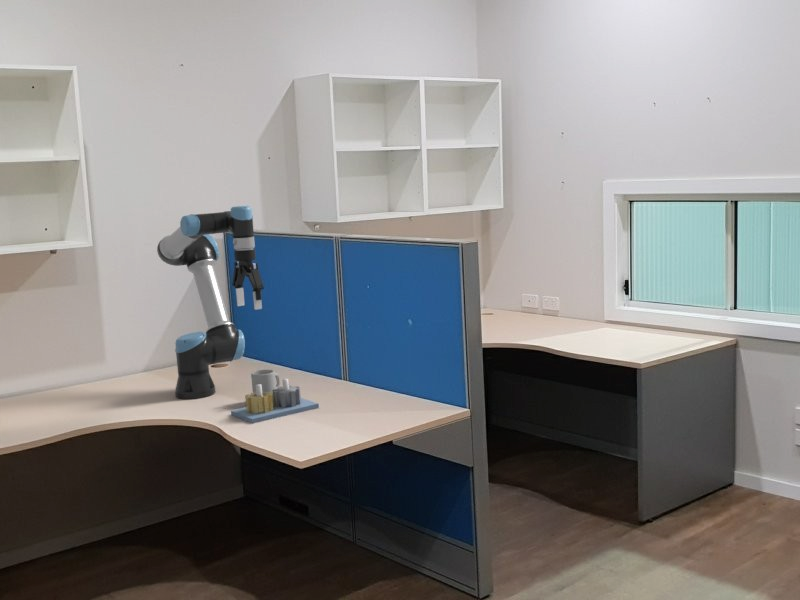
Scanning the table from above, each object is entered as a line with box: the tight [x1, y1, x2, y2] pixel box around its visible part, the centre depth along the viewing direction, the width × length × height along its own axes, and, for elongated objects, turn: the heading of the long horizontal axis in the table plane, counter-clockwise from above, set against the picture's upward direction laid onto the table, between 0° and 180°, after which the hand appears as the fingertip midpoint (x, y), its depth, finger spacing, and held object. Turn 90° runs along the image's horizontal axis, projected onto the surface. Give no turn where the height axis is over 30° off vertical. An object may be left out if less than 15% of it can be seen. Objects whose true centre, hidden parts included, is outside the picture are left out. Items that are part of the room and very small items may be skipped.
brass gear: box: [245, 391, 274, 414], centre depth 322 cm, size 10×10×6 cm
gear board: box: [230, 378, 320, 424], centre depth 325 cm, size 16×26×10 cm, turn 126°
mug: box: [250, 369, 281, 393], centre depth 341 cm, size 12×8×11 cm
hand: (249, 307), depth 338 cm, fingers open, 13 cm apart
